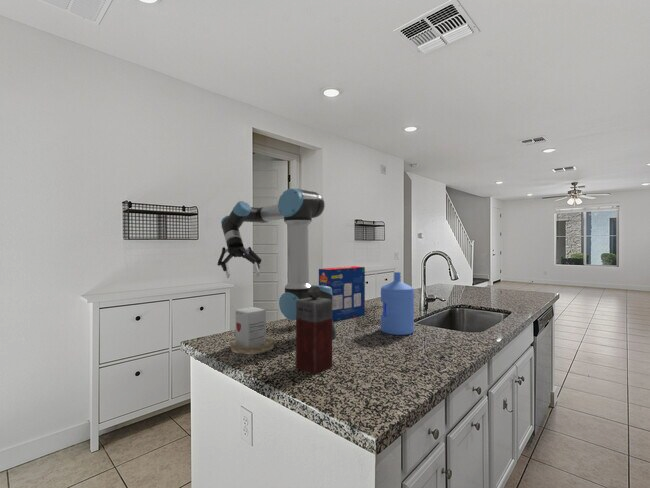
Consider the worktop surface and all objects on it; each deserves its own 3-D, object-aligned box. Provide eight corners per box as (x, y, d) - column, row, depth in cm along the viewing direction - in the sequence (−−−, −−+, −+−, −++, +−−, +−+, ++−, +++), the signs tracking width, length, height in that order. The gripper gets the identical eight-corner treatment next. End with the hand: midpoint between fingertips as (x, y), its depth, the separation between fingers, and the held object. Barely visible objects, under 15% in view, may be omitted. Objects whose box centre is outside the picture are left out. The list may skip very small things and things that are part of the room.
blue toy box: (354, 313, 206) (354, 266, 206) (364, 315, 200) (364, 267, 200) (318, 320, 188) (318, 268, 188) (328, 323, 182) (328, 269, 182)
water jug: (418, 329, 168) (418, 272, 168) (407, 337, 155) (407, 274, 155) (388, 325, 177) (388, 270, 176) (375, 332, 163) (375, 273, 163)
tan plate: (278, 342, 148) (278, 336, 148) (265, 355, 131) (265, 349, 131) (241, 340, 151) (241, 334, 151) (223, 353, 134) (223, 346, 134)
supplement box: (234, 346, 140) (234, 309, 140) (253, 341, 147) (253, 306, 147) (247, 351, 134) (247, 312, 134) (266, 346, 141) (266, 309, 140)
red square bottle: (309, 359, 127) (309, 282, 126) (332, 367, 119) (332, 285, 119) (291, 366, 120) (291, 285, 120) (314, 374, 112) (314, 288, 112)
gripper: (256, 246, 177) (267, 278, 165) (206, 247, 165) (214, 282, 152) (260, 236, 173) (272, 268, 160) (208, 236, 160) (216, 271, 147)
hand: (243, 275), depth 156 cm, fingers open, 13 cm apart
